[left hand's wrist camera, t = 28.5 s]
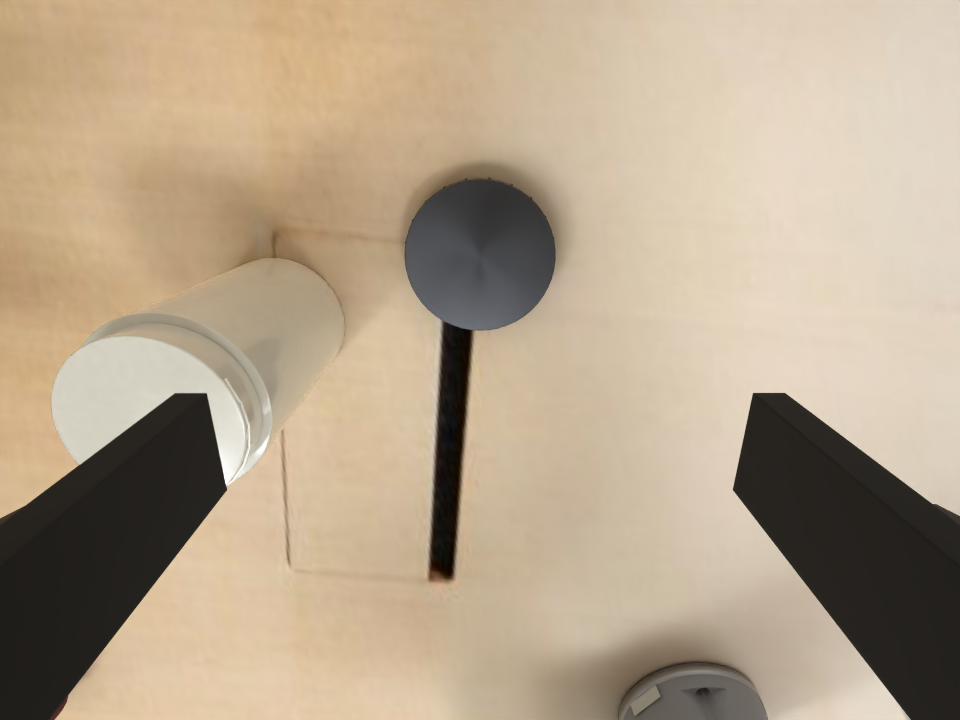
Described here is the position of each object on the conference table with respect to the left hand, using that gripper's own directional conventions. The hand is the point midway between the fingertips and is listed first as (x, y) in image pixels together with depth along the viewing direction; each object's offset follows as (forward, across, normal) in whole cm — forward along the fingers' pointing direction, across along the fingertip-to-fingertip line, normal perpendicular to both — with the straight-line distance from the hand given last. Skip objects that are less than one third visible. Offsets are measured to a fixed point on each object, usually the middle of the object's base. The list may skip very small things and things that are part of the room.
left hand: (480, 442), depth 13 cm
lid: (+26, 0, 0) cm, 26 cm away
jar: (+28, +16, +5) cm, 32 cm away
